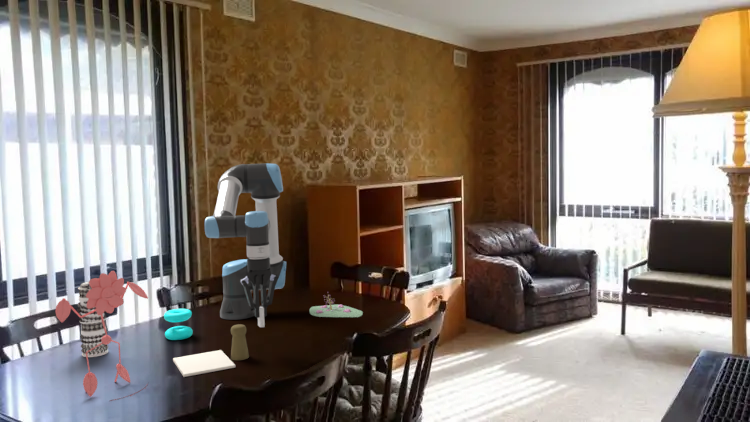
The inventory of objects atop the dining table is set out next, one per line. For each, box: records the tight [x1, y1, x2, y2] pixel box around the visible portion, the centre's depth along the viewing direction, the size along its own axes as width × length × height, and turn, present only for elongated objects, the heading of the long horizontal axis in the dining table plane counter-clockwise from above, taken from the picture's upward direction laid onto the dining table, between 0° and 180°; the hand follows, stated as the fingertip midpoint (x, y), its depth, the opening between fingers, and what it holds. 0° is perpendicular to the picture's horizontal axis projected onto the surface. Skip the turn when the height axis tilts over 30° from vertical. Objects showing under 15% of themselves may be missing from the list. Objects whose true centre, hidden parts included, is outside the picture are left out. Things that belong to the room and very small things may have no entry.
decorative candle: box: [76, 281, 109, 358], centre depth 212 cm, size 9×9×25 cm
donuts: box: [163, 308, 194, 341], centre depth 230 cm, size 10×10×10 cm
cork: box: [230, 323, 250, 361], centre depth 204 cm, size 6×6×11 cm
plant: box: [309, 291, 364, 318], centre depth 262 cm, size 25×21×9 cm
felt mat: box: [172, 349, 236, 378], centre depth 199 cm, size 18×16×1 cm
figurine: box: [55, 270, 149, 402], centre depth 175 cm, size 15×26×35 cm, turn 143°
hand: (261, 326), depth 207 cm, fingers closed
